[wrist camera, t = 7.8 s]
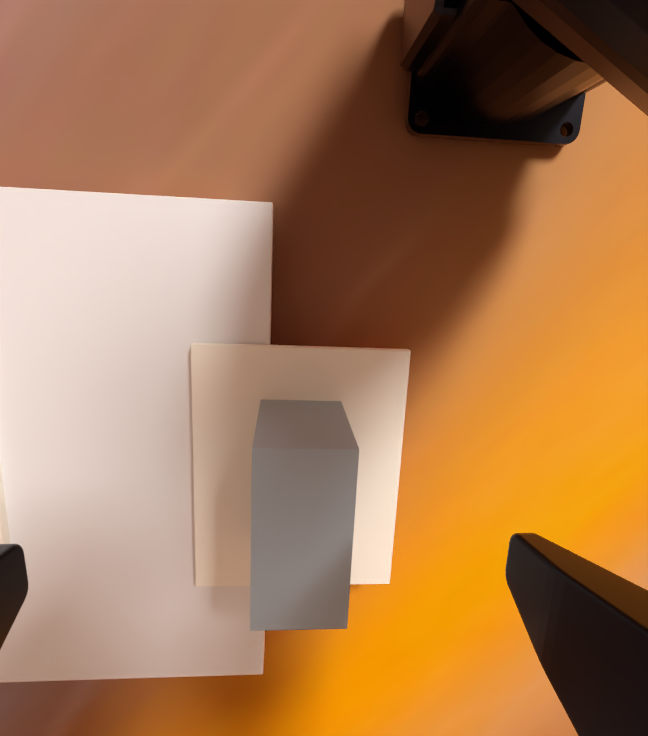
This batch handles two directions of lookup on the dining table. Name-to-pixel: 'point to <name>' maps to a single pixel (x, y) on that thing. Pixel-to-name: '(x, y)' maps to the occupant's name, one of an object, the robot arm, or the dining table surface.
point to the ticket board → (118, 426)
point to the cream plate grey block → (296, 474)
